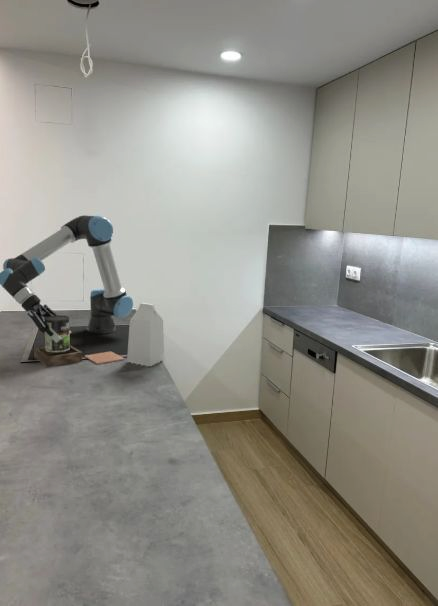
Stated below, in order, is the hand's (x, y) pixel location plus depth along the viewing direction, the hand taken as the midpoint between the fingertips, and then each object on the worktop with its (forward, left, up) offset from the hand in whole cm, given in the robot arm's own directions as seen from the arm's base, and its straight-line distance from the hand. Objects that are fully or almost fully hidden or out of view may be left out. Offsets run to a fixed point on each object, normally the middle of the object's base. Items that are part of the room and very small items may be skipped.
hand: (64, 337), depth 200 cm
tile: (-16, +7, -10) cm, 20 cm away
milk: (-29, +20, -10) cm, 37 cm away
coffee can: (+2, -2, -6) cm, 6 cm away
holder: (+2, -2, -10) cm, 11 cm away
